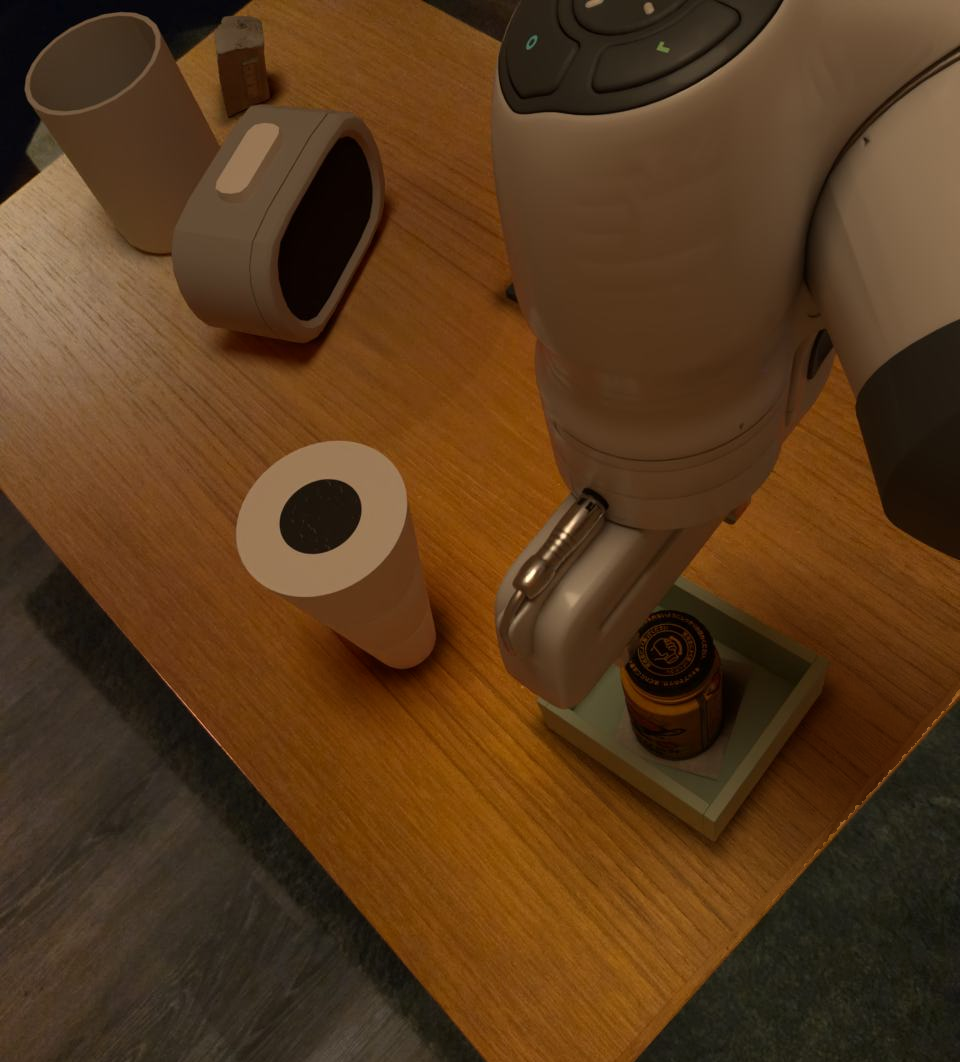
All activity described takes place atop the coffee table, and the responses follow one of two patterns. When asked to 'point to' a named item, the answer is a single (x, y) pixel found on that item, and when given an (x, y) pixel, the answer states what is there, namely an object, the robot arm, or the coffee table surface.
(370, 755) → the coffee table surface
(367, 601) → the cup
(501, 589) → the robot arm
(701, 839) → the coffee table surface
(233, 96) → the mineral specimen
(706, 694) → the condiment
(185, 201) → the cup
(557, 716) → the tray
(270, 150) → the alarm clock
